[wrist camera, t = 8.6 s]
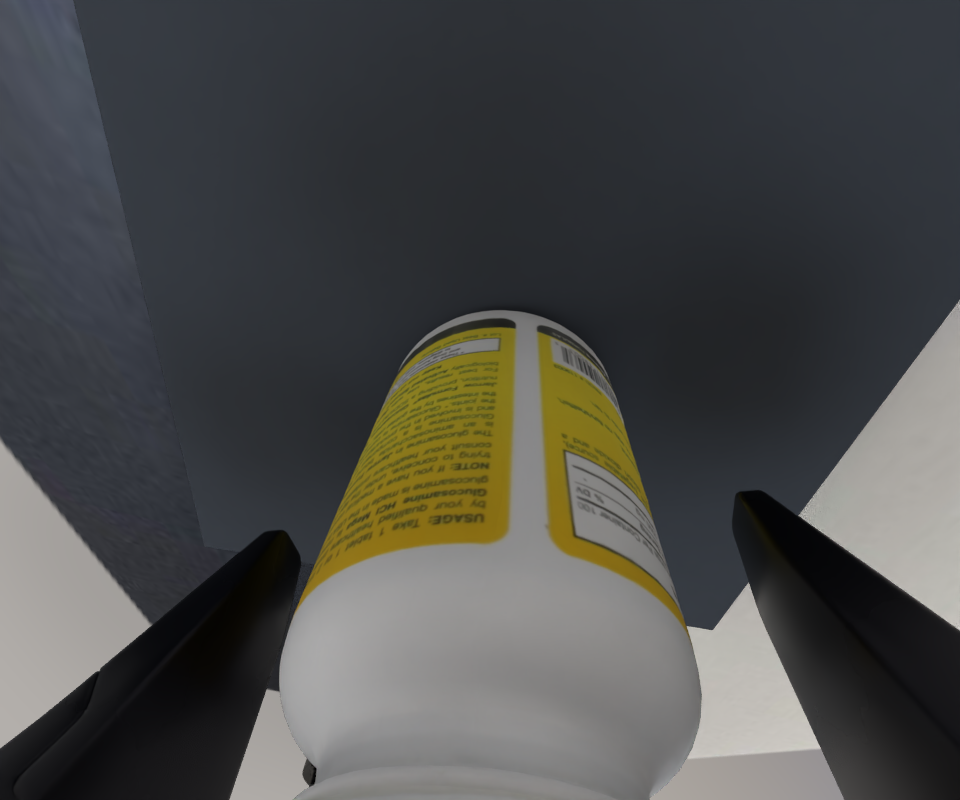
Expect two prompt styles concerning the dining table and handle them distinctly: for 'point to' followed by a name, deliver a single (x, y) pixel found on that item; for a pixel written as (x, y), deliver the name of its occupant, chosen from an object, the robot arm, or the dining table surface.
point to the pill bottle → (493, 590)
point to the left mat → (535, 228)
